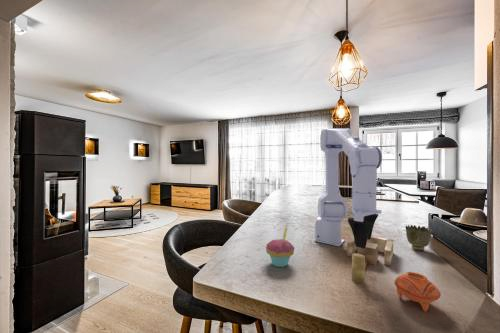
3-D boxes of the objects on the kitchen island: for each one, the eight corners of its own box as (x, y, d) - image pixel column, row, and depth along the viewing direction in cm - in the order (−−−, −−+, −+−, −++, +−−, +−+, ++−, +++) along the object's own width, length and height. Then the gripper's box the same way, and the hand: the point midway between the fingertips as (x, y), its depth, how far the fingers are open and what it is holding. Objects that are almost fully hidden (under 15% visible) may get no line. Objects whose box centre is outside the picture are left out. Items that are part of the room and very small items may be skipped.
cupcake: (295, 259, 68) (296, 222, 68) (291, 272, 60) (292, 229, 60) (269, 255, 71) (269, 219, 71) (262, 267, 63) (262, 226, 63)
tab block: (346, 279, 56) (346, 255, 56) (360, 255, 72) (360, 236, 72) (368, 286, 53) (368, 260, 53) (377, 259, 69) (377, 239, 69)
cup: (436, 255, 73) (436, 231, 73) (411, 253, 74) (412, 229, 74) (423, 246, 80) (423, 225, 80) (401, 245, 81) (401, 224, 81)
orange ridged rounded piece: (395, 306, 46) (394, 272, 47) (394, 296, 52) (394, 266, 53) (445, 320, 41) (442, 282, 43) (438, 308, 47) (436, 275, 49)
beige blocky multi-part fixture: (346, 255, 72) (347, 241, 72) (354, 244, 81) (354, 232, 81) (390, 266, 64) (390, 251, 64) (393, 253, 74) (393, 239, 74)
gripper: (377, 196, 49) (376, 255, 49) (384, 190, 61) (383, 238, 61) (345, 194, 54) (344, 248, 54) (357, 188, 65) (356, 233, 65)
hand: (363, 242), depth 58 cm, fingers open, 7 cm apart
